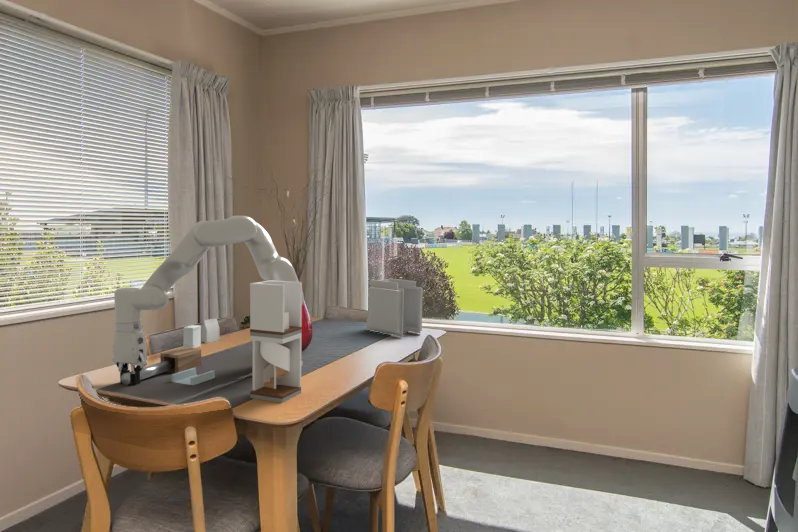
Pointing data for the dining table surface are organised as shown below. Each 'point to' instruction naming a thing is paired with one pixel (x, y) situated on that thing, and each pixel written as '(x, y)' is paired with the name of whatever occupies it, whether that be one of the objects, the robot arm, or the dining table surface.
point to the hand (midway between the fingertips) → (130, 383)
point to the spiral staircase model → (276, 339)
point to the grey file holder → (395, 306)
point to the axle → (148, 371)
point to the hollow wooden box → (182, 358)
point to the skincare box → (192, 336)
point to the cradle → (191, 377)
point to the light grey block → (210, 331)
